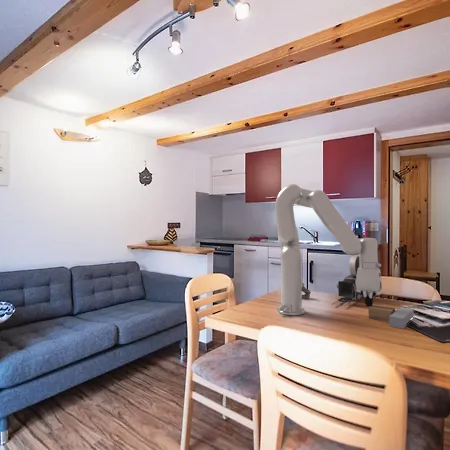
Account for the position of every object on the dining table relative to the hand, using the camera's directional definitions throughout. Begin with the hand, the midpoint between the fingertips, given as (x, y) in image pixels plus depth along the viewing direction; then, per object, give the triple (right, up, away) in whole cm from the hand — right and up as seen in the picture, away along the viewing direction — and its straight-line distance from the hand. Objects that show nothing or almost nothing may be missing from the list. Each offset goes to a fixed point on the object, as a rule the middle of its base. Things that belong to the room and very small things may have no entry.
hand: (368, 306), depth 143 cm
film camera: (+2, -4, +29) cm, 29 cm away
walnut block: (+4, -5, -4) cm, 7 cm away
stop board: (+10, -4, -9) cm, 14 cm away
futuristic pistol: (-25, -5, +34) cm, 43 cm away
